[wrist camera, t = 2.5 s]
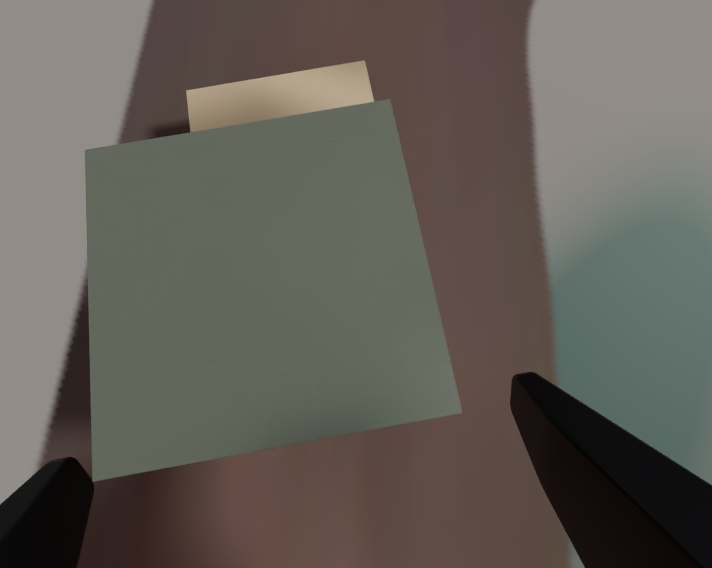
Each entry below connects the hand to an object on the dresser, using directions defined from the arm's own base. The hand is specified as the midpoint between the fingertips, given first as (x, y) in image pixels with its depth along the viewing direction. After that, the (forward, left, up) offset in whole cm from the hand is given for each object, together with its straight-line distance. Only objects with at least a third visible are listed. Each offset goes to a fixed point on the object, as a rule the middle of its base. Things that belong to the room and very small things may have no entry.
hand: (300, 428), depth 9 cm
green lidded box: (+3, 0, -10) cm, 10 cm away
